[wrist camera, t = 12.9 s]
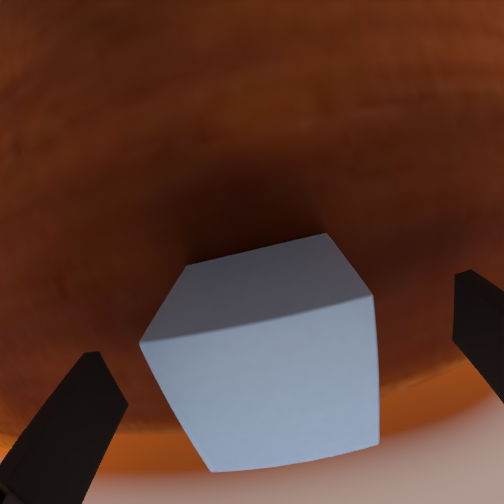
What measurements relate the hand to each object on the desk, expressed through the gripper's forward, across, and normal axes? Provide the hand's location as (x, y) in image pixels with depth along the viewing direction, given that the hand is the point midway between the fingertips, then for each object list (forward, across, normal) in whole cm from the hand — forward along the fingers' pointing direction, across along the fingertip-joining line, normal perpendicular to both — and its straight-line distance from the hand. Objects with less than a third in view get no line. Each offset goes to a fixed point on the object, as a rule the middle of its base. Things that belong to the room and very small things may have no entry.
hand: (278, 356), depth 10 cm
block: (+3, 0, 0) cm, 3 cm away
